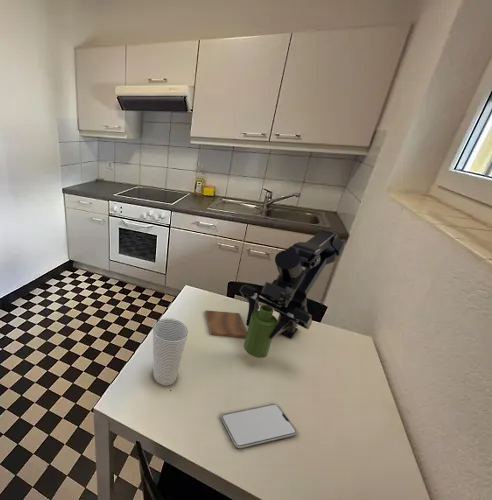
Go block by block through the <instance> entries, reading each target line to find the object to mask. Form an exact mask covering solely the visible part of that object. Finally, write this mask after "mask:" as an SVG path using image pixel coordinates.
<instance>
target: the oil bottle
mask: <svg viewBox="0 0 492 500" xmlns="http://www.w3.org/2000/svg"><path fill="white" fill-rule="evenodd" d="M277 320H278V318H276V316H275V315H274V308H272V307H270V306H267V305H265V304H262V305H259V309H258V311H254V312H253V313H252V314H251V318H250V322H249V325H248V326H247V329H246V330H247V334H246V338H244V343H243V349H244V351H245V352H246V353H247V354H248V355H250V356H252V357H254V358H259V359H262V358H266V357H267V356H268V355H269V350H270V348H271V344H272V341H273V339H270V336H271V334H272V332H273V331H274V330H275V328H276V324H277Z"/></svg>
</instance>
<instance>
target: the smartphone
mask: <svg viewBox="0 0 492 500" xmlns="http://www.w3.org/2000/svg"><path fill="white" fill-rule="evenodd" d="M220 419H221V422H222V423H223V426H224V428H225V429H226V432H227V433H228V436H229V437H230V439H231V442H232V444H233V445H234V447H236V448H238V449H244V448H248V447H252V446H256V445H259V444H264V443H269V442H273V441H276V440H281V439H286V438H290V437H294V436H296V435H297V432H298V431H297V429H296V428H295V426H294V425H293V423H292V422H291V421H290V419H289V418H288V417H287V415H286V414H285V412H284V411H283V410H282V409H281V407H280V406H279V405H278V404H276V403H271V404H266V405H265V404H264V405H261V406H255V407H251V408H247V409H242V410H236V411H231V412H226V413H223V414H221V416H220Z"/></svg>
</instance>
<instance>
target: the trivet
mask: <svg viewBox="0 0 492 500" xmlns="http://www.w3.org/2000/svg"><path fill="white" fill-rule="evenodd" d="M204 313H205V318H206V321H207V327H208V330H209V334H210V335H211V336H218V337H231V338H241V339H245V338H246V334H247V330H248V329H247V328H246V326H245V324H244V321H243V319H242V317H241V314H240V313H239V312H231V311H229V312H228V311H218V310H205V312H204Z"/></svg>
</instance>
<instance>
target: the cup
mask: <svg viewBox="0 0 492 500" xmlns="http://www.w3.org/2000/svg"><path fill="white" fill-rule="evenodd" d="M188 334H189V331H188V326H186V325H185V324H184V323H183V322H182V321H179V320H178V319H175V318H162V319H159V320H157V321H155V323H154V324H153V326H152V353H153V354H152V359H153V363H152V365H153V378H154V379H155V382H156V383H158V384H159V385H161V386H171V385H173V384H174V383H175V382H176V380H177V377H178V373H179V369H180V364H181V362H182V357H183V353H184V350H185V345H186V342H187V337H188Z"/></svg>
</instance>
